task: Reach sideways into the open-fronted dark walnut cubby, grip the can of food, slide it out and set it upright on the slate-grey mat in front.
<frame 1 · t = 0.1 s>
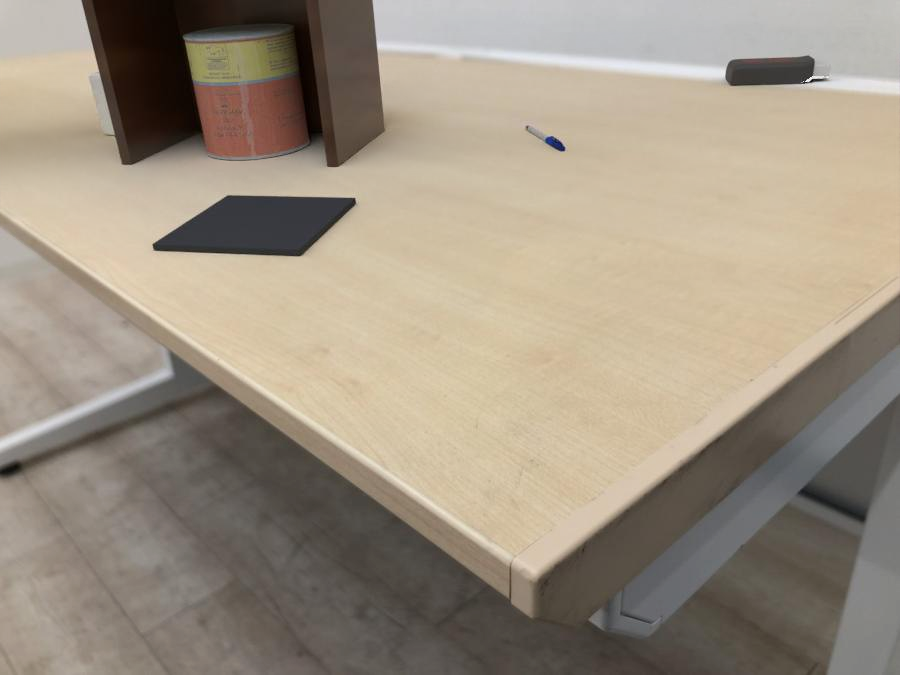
mat: (260, 225, 64), on the table
cubby: (256, 147, 88), on the table
usb drive: (775, 81, 104), on the table
canned food: (259, 148, 88), on the table
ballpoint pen: (544, 143, 84), on the table
medicine bottle: (145, 131, 99), on the table
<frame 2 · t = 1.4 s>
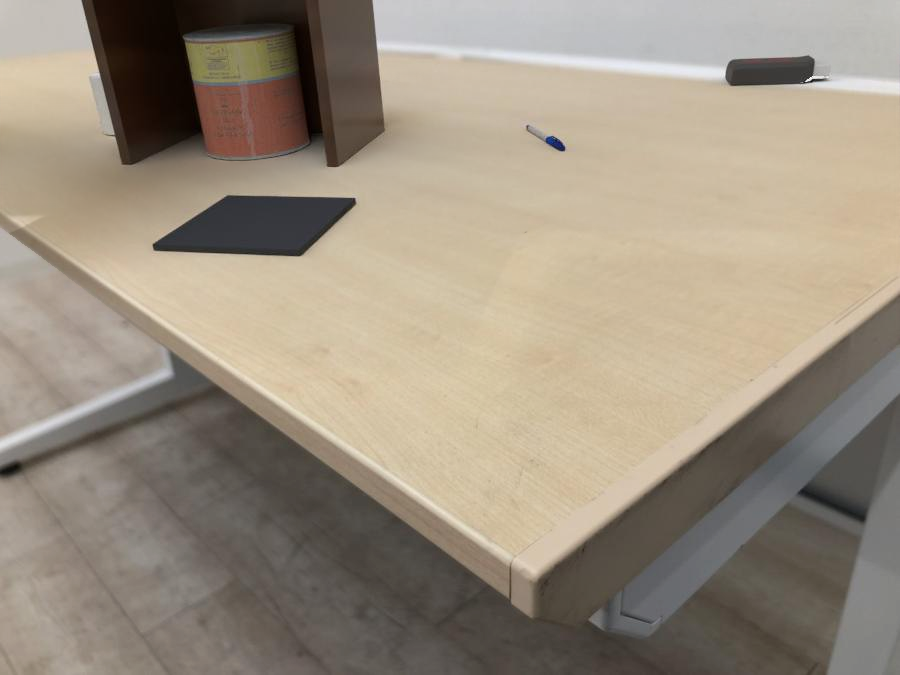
nothing on the table moved.
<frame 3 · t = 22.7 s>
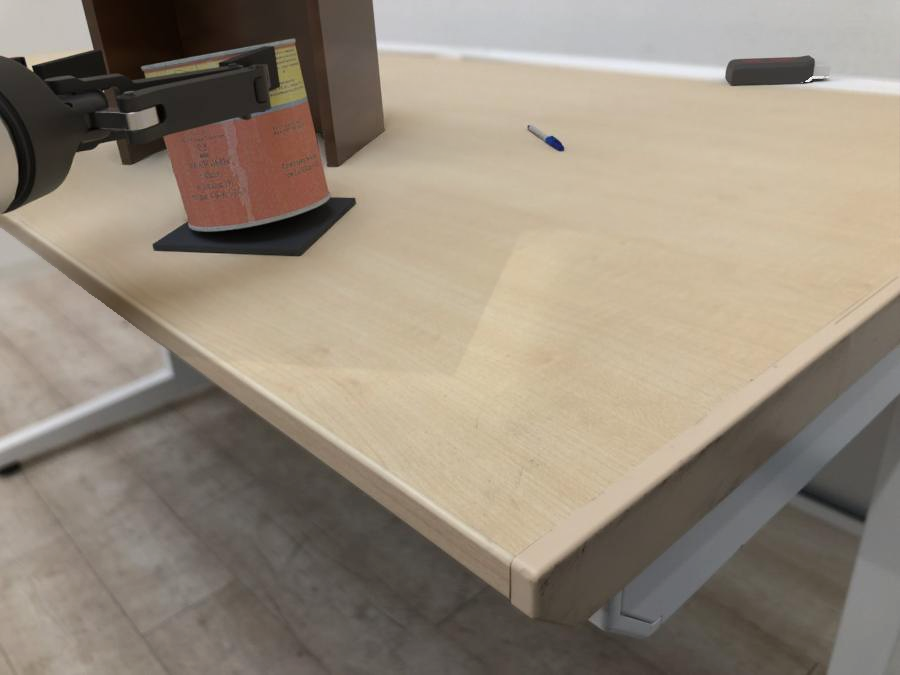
hand: (185, 67, 57), 13 cm above the table, tool horizontal, fingers open, 13 cm apart
canned food: (261, 212, 64), point 1 cm above the table, touching gripper, mat
everything else where it was.
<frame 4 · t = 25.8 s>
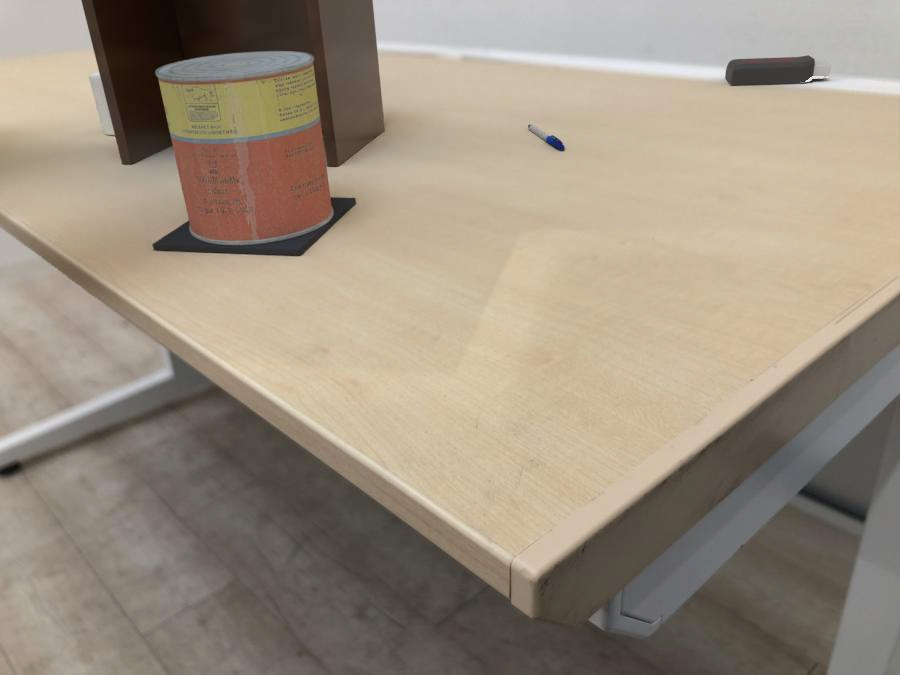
canned food: (263, 222, 64), resting on mat
everything else where it was.
at the end: canned food inside the target area on the mat (0.4 cm from its centre), point 0.3 cm above the mat's base; canned food tilted 0°; the gripper is holding nothing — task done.
